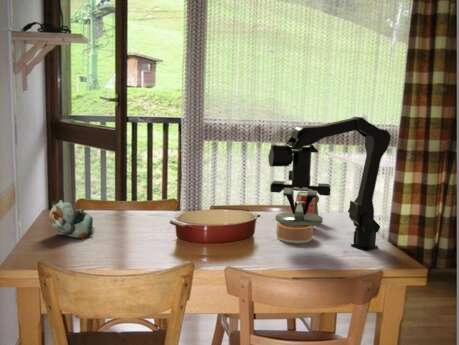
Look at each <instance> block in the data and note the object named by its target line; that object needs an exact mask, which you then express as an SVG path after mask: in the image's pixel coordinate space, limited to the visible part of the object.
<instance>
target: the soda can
mask: <svg viewBox="0 0 459 345" xmlns="http://www.w3.org/2000/svg"><path fill="white" fill-rule="evenodd" d="M307 194H308V191H298V192H297V195H295V196H296V197H295V202H296V201H302V202H305V204H306V199H307ZM314 210H315V197H314V198H313V199H312V201H311V202H310V204H309V207H308V209H307V212H306V213H312V214H314Z"/></svg>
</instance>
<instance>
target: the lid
mask: <svg viewBox="0 0 459 345" xmlns="http://www.w3.org/2000/svg"><path fill="white" fill-rule="evenodd" d="M294 207H295V209H294V214H293V212H292V211H284V212H279V213H277V214H276V215H275V221H277V223H278V222H280V223H283V224H287V225H293V226H313V227H314V226H318V225H321V224H322V223H323V221H324V220H323V219H324V218H323V217H322V216H321V215H319V214H318V215H316V214H312V213H306V215H304V210H305V202H302V201H296V200H295V201H294Z"/></svg>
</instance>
